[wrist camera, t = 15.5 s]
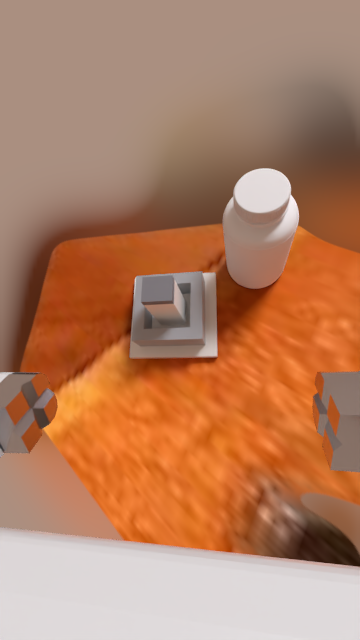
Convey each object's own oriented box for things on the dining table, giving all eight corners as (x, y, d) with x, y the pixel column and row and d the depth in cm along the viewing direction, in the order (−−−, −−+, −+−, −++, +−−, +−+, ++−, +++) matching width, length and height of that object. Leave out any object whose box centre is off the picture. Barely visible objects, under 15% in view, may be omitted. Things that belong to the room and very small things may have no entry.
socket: (216, 275, 42) (213, 260, 37) (217, 357, 38) (215, 350, 34) (137, 280, 44) (126, 267, 40) (131, 358, 40) (119, 352, 36)
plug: (186, 303, 40) (172, 275, 32) (186, 324, 39) (171, 300, 31) (162, 304, 41) (142, 277, 32) (161, 325, 40) (140, 302, 31)
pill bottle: (215, 267, 42) (203, 196, 28) (253, 231, 43) (260, 142, 29) (256, 302, 39) (266, 241, 25) (296, 262, 40) (328, 181, 26)
